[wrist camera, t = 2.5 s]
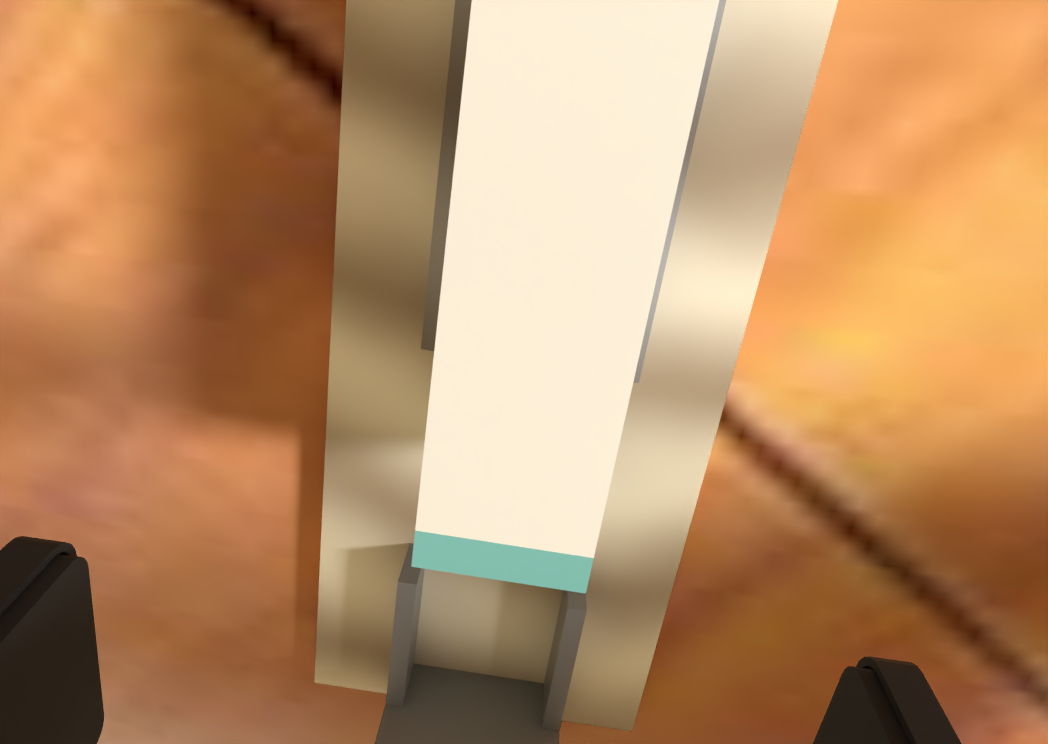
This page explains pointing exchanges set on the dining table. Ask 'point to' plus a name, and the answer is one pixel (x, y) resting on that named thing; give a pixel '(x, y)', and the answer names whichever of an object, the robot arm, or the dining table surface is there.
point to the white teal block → (550, 274)
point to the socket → (473, 684)
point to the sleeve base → (410, 332)
